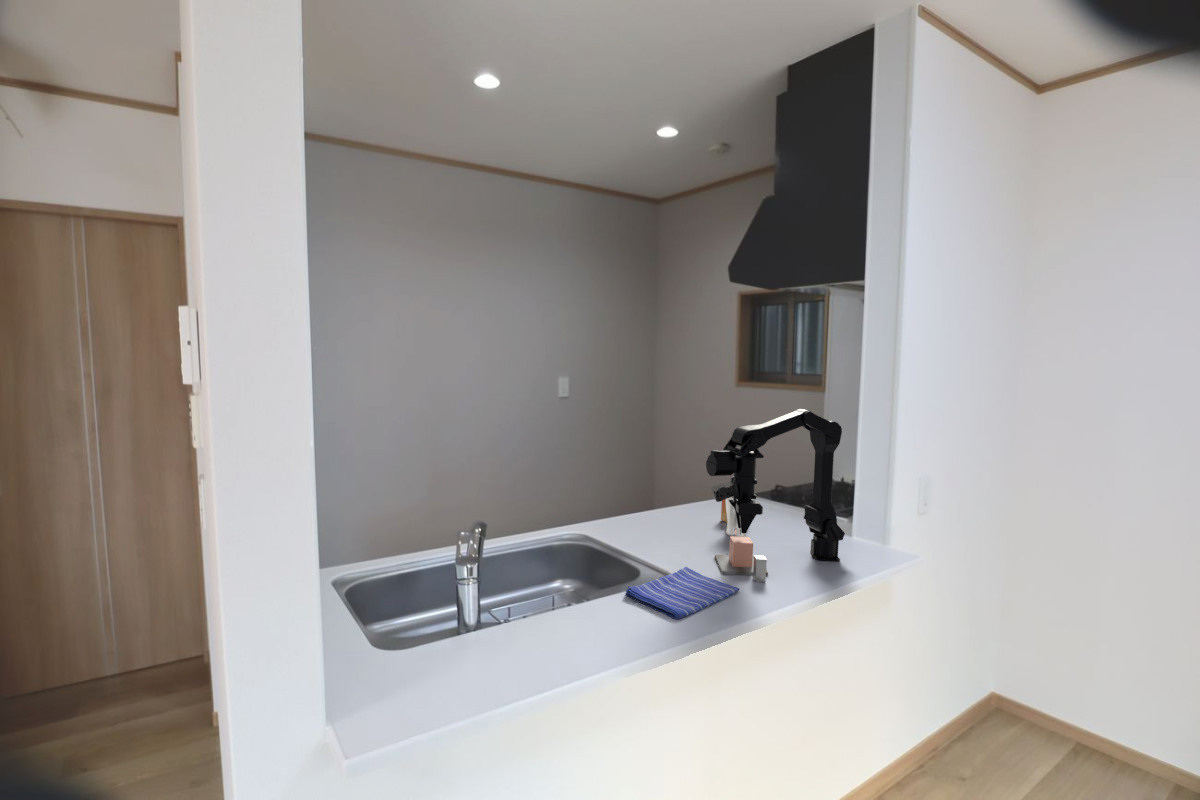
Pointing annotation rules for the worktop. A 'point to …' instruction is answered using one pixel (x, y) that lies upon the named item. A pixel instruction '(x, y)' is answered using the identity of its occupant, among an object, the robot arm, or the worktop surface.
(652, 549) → the worktop surface
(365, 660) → the worktop surface
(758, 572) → the post steel
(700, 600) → the dish towel
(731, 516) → the beer glass
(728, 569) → the plate
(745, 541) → the salmon pink block
